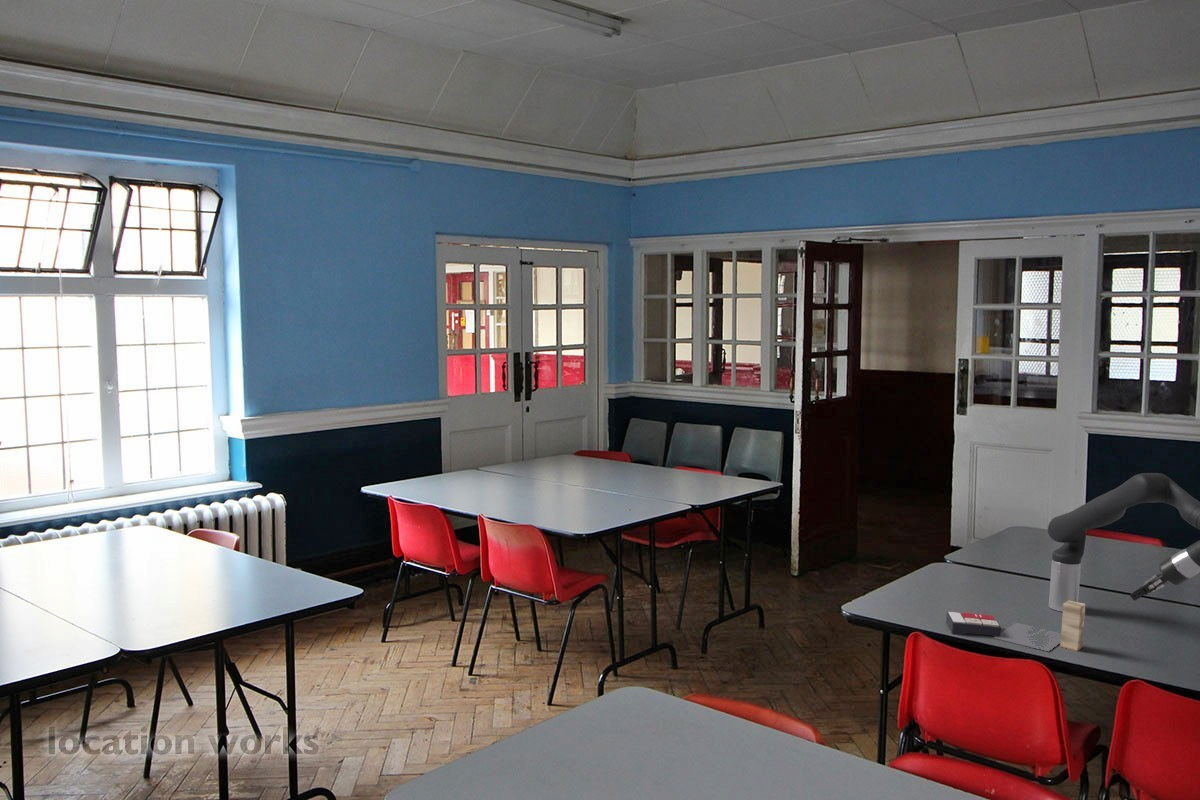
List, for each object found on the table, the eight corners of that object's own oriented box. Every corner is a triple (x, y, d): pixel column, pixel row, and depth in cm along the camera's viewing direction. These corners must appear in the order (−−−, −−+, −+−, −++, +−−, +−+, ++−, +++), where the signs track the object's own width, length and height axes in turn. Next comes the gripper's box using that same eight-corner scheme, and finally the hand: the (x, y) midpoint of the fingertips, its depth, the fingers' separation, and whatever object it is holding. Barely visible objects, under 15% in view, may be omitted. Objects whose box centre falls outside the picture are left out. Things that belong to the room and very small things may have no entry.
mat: (1016, 623, 328) (1016, 622, 328) (1069, 636, 316) (1069, 635, 316) (993, 638, 313) (993, 637, 313) (1048, 652, 302) (1048, 651, 302)
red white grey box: (1001, 625, 314) (952, 620, 316) (1000, 638, 314) (951, 633, 317) (993, 614, 324) (946, 609, 327) (992, 627, 325) (945, 622, 327)
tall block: (1065, 642, 310) (1068, 600, 308) (1082, 647, 307) (1085, 603, 305) (1060, 647, 306) (1063, 603, 305) (1077, 651, 303) (1080, 607, 301)
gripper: (1178, 551, 290) (1129, 582, 300) (1166, 560, 281) (1116, 591, 290) (1196, 572, 287) (1147, 603, 297) (1186, 582, 278) (1135, 613, 287)
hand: (1132, 597), depth 294 cm, fingers closed
